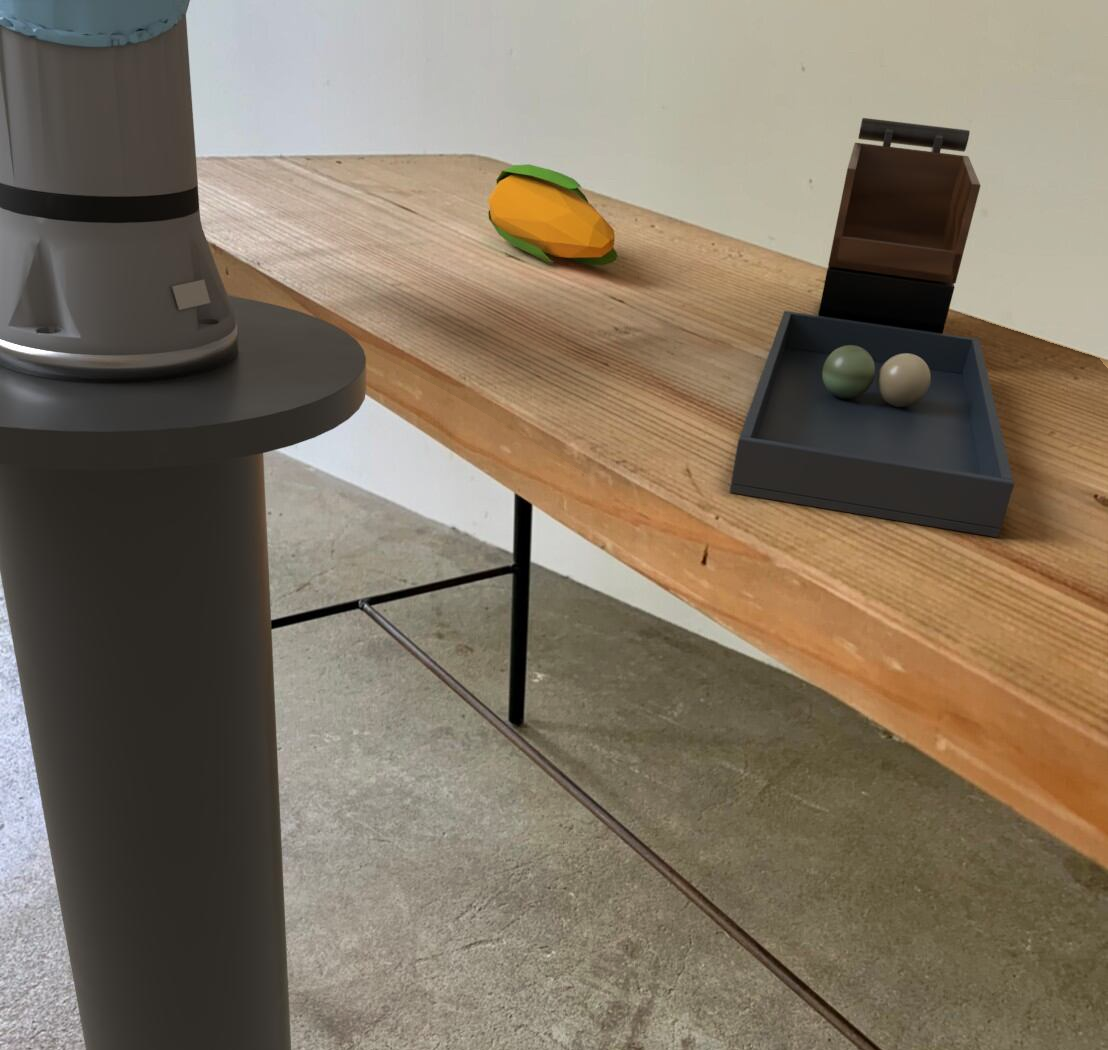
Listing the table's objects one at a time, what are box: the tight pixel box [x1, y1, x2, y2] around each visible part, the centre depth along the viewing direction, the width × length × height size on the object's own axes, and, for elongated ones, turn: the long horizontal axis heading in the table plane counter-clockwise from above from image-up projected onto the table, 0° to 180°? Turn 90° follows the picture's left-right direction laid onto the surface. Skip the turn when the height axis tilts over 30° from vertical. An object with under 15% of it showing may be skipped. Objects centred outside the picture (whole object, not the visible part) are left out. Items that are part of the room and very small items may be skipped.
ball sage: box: [822, 345, 875, 399], centre depth 79 cm, size 3×3×3 cm
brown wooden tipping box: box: [827, 117, 981, 285], centre depth 94 cm, size 21×9×8 cm, turn 166°
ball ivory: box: [877, 353, 931, 407], centre depth 79 cm, size 3×3×3 cm
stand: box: [817, 265, 955, 334], centre depth 97 cm, size 17×9×6 cm, turn 166°
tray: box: [729, 310, 1015, 538], centre depth 76 cm, size 31×14×3 cm, turn 166°
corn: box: [488, 163, 618, 266], centre depth 110 cm, size 7×8×20 cm
